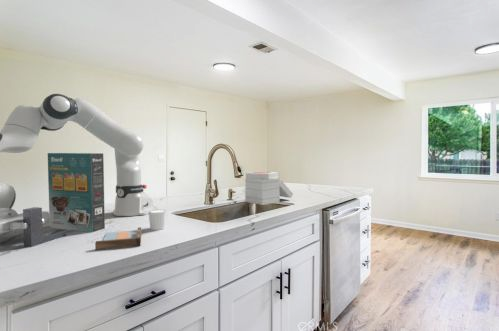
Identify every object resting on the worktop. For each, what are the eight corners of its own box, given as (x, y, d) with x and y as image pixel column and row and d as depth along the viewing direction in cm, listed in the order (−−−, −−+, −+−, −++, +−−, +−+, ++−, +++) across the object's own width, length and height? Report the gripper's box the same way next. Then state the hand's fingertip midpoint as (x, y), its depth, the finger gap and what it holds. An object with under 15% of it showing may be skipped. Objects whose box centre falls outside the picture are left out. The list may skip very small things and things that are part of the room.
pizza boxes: (295, 200, 189) (295, 172, 188) (262, 205, 169) (262, 174, 168) (273, 196, 203) (273, 170, 202) (240, 201, 183) (240, 172, 182)
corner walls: (102, 237, 107) (102, 230, 107) (141, 234, 111) (141, 227, 111) (95, 250, 93) (95, 242, 93) (140, 245, 97) (140, 238, 97)
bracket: (31, 246, 96) (30, 209, 95) (24, 246, 96) (22, 209, 96) (65, 235, 108) (64, 203, 108) (58, 235, 109) (57, 202, 108)
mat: (106, 233, 111) (106, 232, 111) (141, 230, 115) (141, 229, 115) (98, 249, 93) (98, 248, 93) (140, 245, 97) (140, 244, 97)
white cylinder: (161, 225, 124) (161, 208, 124) (169, 228, 119) (169, 211, 119) (145, 228, 119) (145, 211, 119) (153, 231, 114) (153, 213, 114)
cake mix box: (104, 228, 119) (103, 153, 118) (92, 232, 113) (90, 153, 112) (63, 223, 126) (61, 153, 124) (49, 227, 120) (47, 153, 118)
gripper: (31, 223, 111) (62, 225, 108) (-32, 238, 91) (3, 242, 88) (31, 206, 111) (61, 208, 107) (-33, 218, 91) (2, 221, 87)
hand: (35, 223), depth 97 cm, fingers closed on bracket, 4 cm apart
